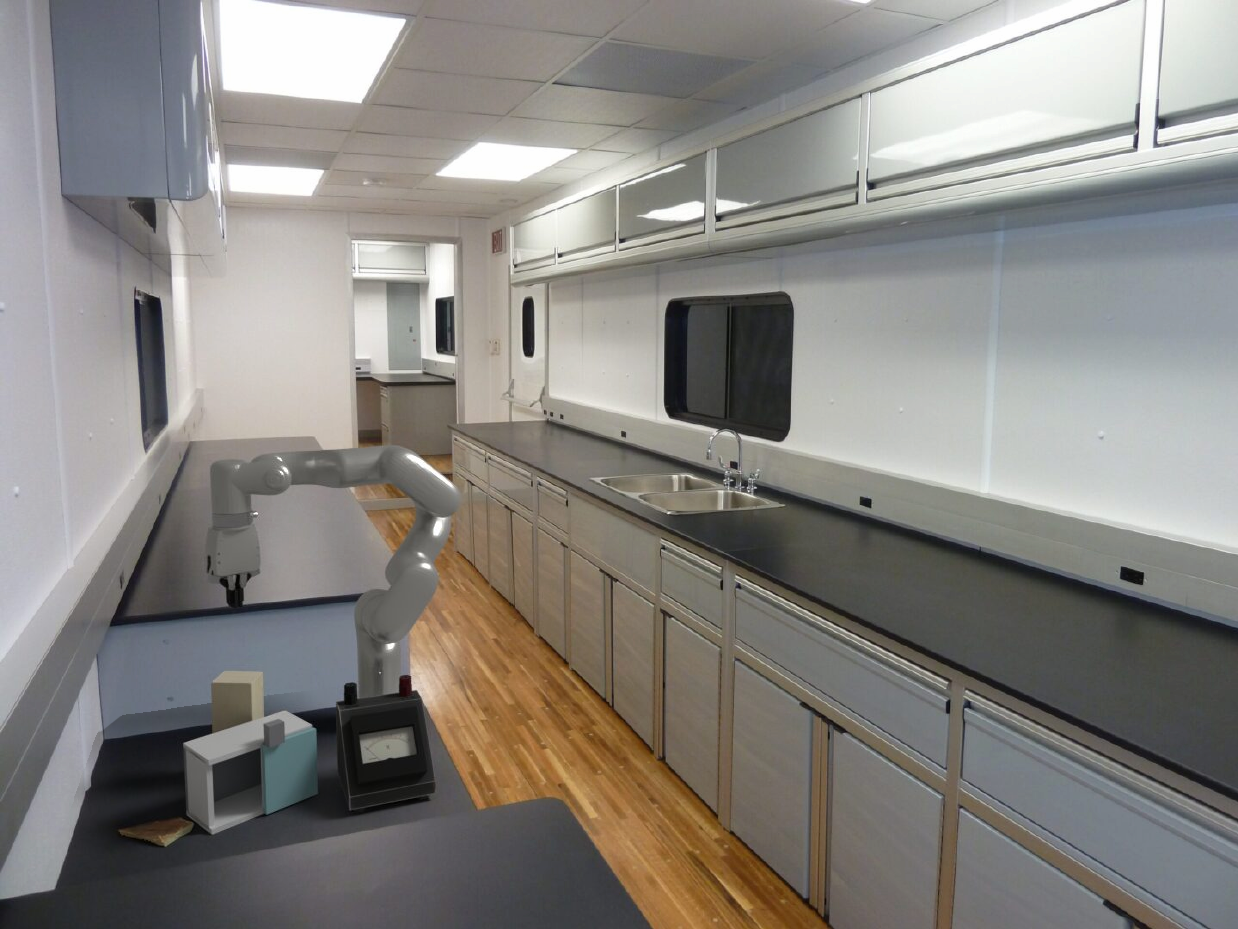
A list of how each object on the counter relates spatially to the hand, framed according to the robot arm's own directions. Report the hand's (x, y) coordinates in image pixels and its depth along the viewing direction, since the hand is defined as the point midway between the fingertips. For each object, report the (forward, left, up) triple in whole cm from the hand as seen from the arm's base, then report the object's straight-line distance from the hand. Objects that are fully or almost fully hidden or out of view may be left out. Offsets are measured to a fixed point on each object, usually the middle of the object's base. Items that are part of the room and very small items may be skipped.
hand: (235, 606), depth 185 cm
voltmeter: (-11, +36, -32) cm, 50 cm away
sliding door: (+4, +28, -32) cm, 43 cm away
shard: (+26, +20, -33) cm, 47 cm away
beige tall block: (+5, +10, -32) cm, 34 cm away
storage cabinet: (+9, +22, -32) cm, 40 cm away
